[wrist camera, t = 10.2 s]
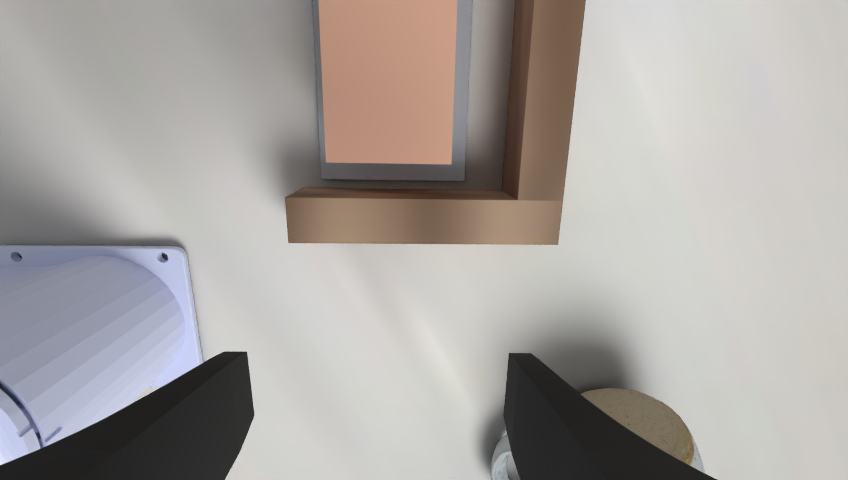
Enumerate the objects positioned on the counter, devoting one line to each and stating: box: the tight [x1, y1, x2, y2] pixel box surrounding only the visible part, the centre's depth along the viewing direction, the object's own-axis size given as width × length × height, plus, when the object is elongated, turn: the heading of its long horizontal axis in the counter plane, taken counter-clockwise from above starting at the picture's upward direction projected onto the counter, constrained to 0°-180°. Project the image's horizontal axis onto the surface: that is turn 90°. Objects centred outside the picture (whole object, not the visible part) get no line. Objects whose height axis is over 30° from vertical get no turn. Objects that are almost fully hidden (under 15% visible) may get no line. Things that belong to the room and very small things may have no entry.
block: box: [318, 0, 457, 164], centre depth 16 cm, size 8×4×5 cm, turn 179°
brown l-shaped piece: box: [285, 0, 586, 245], centre depth 17 cm, size 12×16×3 cm
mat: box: [312, 0, 473, 181], centre depth 18 cm, size 7×10×1 cm
